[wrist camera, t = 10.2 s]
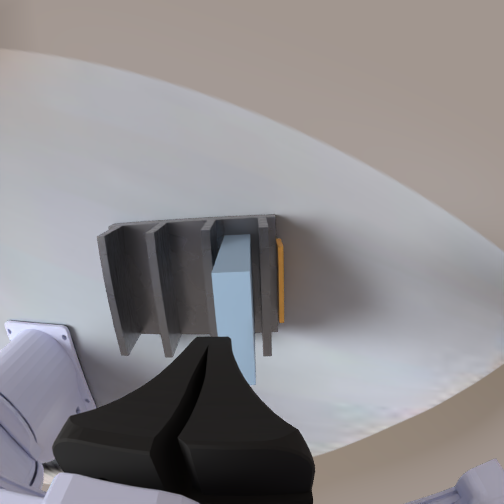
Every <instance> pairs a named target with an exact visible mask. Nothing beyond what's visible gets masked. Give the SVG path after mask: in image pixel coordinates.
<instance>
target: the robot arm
mask: <svg viewBox="0 0 504 504" xmlns="http://www.w3.org/2000/svg"><path fill="white" fill-rule="evenodd" d="M5 328H6V331H7V334H8V337H9V339H10V342H9V343H8V344H7V345H6V346H5V347H4V348H3V349H2V350H0V504H313V496H312V485H313V480H314V474H315V465H314V461H313V458H312V455H311V452H310V450H309V448H308V446H307V444H306V442H305V440H304V438H303V437H302V435H301V433H300V431H299V430H298V429H296V428H295V427H293V426H292V425H290V424H288V423H287V422H285V421H284V420H282V419H281V418H280V417H279V416H278V415H276V414H275V413H274V412H273V411H272V410H271V409H270V408H269V407H268V406H267V405H266V404H265V403H264V402H263V401H262V400H261V399H260V398H259V397H258V396H257V395H256V393H255V392H254V391H253V390H252V388H251V387H250V385H249V384H248V383H247V381H246V379H245V378H244V376H243V374H242V372H241V371H240V369H239V367H238V364H237V362H236V360H235V357H234V355H233V351H232V341H231V338H229V337H228V336H227V337H196V338H195V339H194V340H193V341H192V342H191V343H190V344H189V345H188V346H187V348H186V349H185V350H184V351H183V352H182V353H181V354H180V355H179V356H178V357H177V358H176V359H175V360H174V361H173V362H172V363H171V364H170V365H169V366H168V367H167V368H165V369H164V370H163V371H162V372H161V373H160V374H159V375H157V376H156V377H155V378H153V379H152V380H151V381H149V382H148V383H146V384H145V385H143V386H142V387H140V388H139V389H137V390H135V391H133V392H132V393H130V394H128V395H126V396H124V397H122V398H121V399H118V400H116V401H114V402H112V403H109V404H107V405H104V406H102V407H99V408H96V405H95V403H94V400H93V398H92V395H91V393H90V390H89V388H88V385H87V383H86V380H85V377H84V374H83V372H82V369H81V366H80V363H79V360H78V357H77V354H76V351H75V348H74V345H73V342H72V339H71V335H70V332H69V329H68V328H67V327H66V326H64V325H53V324H41V323H29V322H19V321H9V320H8V321H6V322H5ZM64 335H65V336H66V337H67V338H66V337H65V336H64ZM54 459H56V461H57V463H58V464H59V466H60V467H61V469H62V470H63V471H64V472H63V473H59V474H58V475H56V476H55V477H54V479H53V481H52V483H51V485H50V487H49V489H48V491H47V492H45V491H42V490H41V489H42V486H43V481H44V477H43V475H44V470H43V466H42V464H41V463H46V462H50V461H52V460H54ZM405 504H504V470H503V468H502V467H501V465H500V464H499V462H498V461H497V459H496V458H495V459H492V460H489V461H487V462H485V463H483V464H481V465H478V466H476V467H474V468H472V469H470V470H468V471H467V472H465V473H464V474H463V475H462V476H461V477H460V478H459V480H458V482H457V483H456V485H455V486H454V487H452V488H449V489H446V490H444V491H441V492H439V493H435V494H433V495H430V496H427V497H424V498H421V499H418V500H414V501H411V502H408V503H405Z"/></svg>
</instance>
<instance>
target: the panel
mask: <svg viewBox="0 0 504 504" xmlns="http://www.w3.org/2000/svg"><path fill="white" fill-rule="evenodd" d="M211 274H212V285H213V295H214V305H215V315H216V324H217V333H218V337H227V336H228V337H229V338H231V341H232V351H233V355H234V357H235V360H236V362H237V364H238V367H239V369H240V371H241V372H242V374H243V376H244V378H245V379H246V381H247V383H248V384H249V385H256V368H255V319H254V299H253V279H252V259H251V239H250V234H241V235H225V236H224V238H223V241H222V244H221V247H220V250H219V253H218V255H217V258H216V261H215V264H214V267H213V270H212V273H211Z"/></svg>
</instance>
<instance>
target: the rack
mask: <svg viewBox="0 0 504 504" xmlns="http://www.w3.org/2000/svg"><path fill="white" fill-rule="evenodd" d="M241 234H250V239H251V259H252V279H253V299H254V319H255V333H260V332H262V339H263V356H272V349H271V332H278V318H279V323H284V259H283V244H282V242H281V239H276V217H275V214H270V215H246V216H225V217H206V218H189V219H173V220H158V221H143V222H130V223H117V224H113V225H111V226H109V230H108V231H106V232H104V233H102V234H101V235H99V236H97V241H98V248H99V254H100V260H101V266H102V271H103V277H104V282H105V287H106V292H107V297H108V302H109V306H110V311H111V315H112V320H113V324H114V328H115V332H116V336H117V340H118V344H119V348H120V351H121V355H125V356H128V355H129V354H130V352H131V350H132V348H133V347H134V345H135V343H136V342H137V340H138V338H139V336H140V335H141V334H161V338H162V343H163V348H164V353H165V357H173V356H174V353H175V350H176V348H177V345H178V342H179V340H180V337H181V334H211V337H218V333H217V324H216V315H215V305H214V295H213V285H212V274H211V273H212V270H213V267H214V264H215V261H216V258H217V255H218V253H219V250H220V247H221V244H222V241H223V238H224V236H225V235H241Z"/></svg>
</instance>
